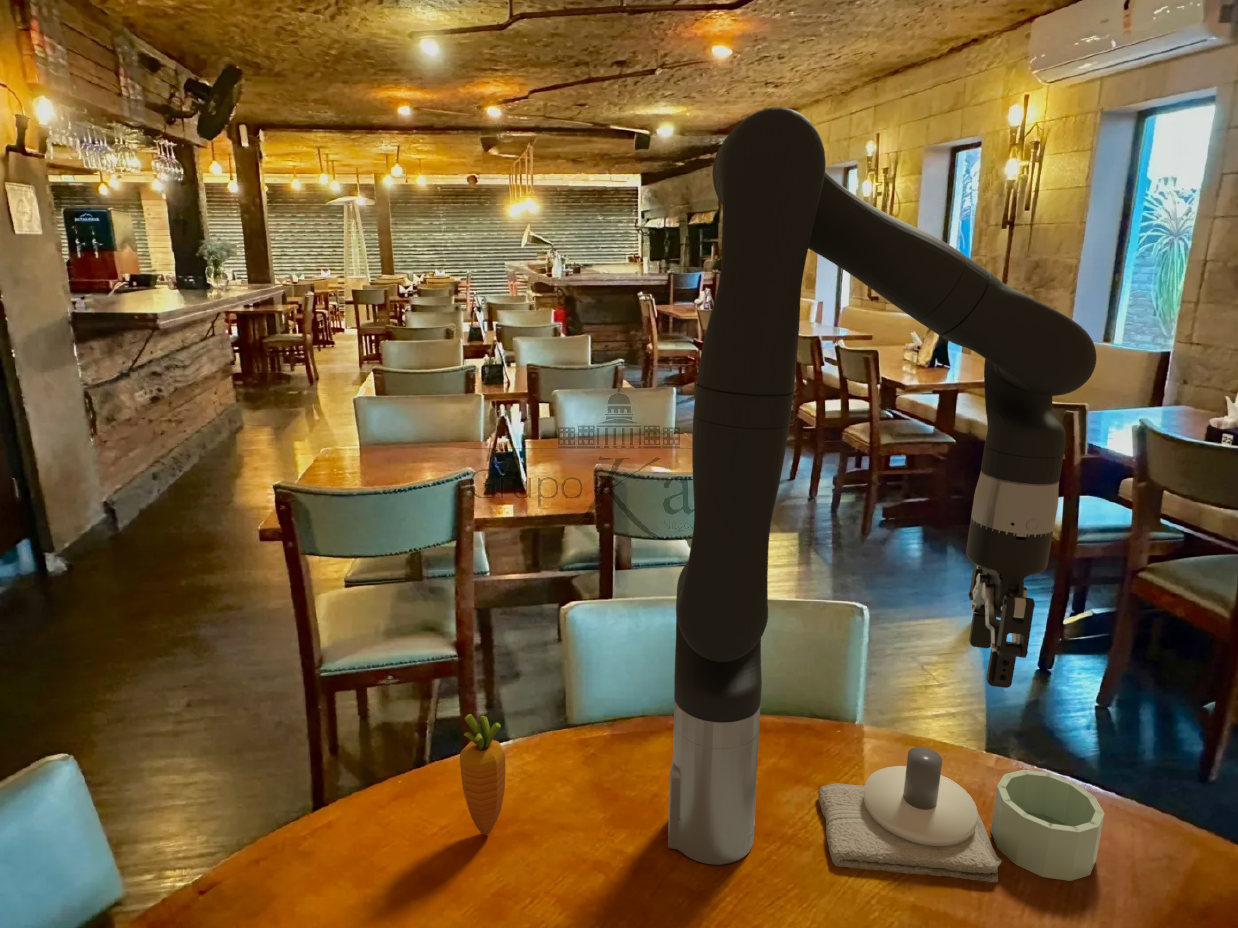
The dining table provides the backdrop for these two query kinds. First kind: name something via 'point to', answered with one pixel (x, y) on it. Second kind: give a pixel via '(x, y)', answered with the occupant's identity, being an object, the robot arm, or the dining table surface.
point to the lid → (921, 801)
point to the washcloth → (897, 842)
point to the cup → (1047, 824)
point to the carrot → (483, 774)
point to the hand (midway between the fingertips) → (988, 664)
